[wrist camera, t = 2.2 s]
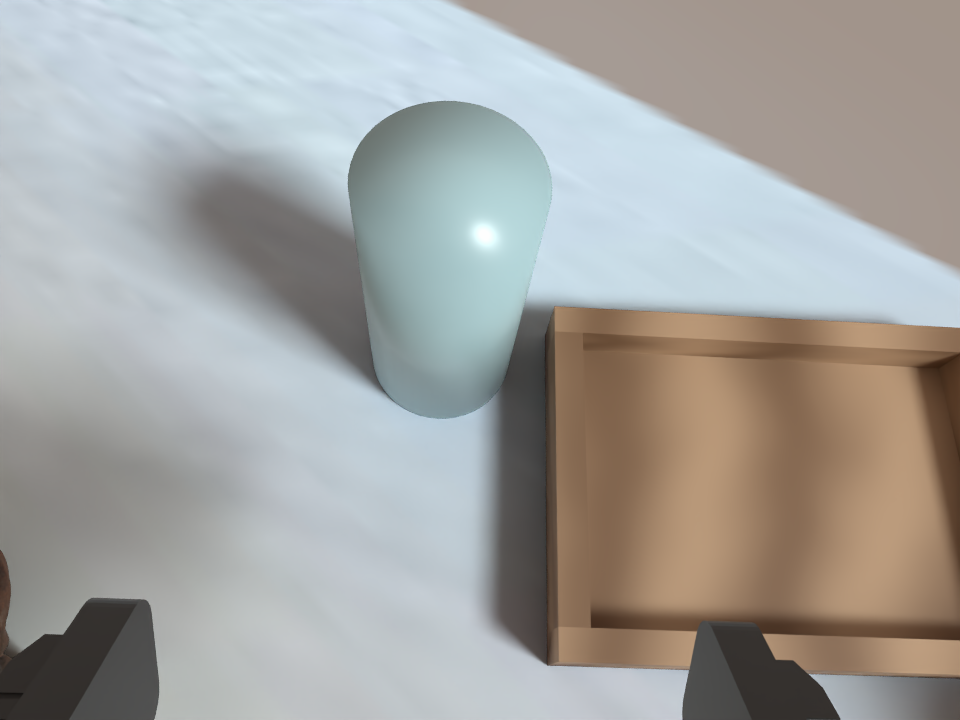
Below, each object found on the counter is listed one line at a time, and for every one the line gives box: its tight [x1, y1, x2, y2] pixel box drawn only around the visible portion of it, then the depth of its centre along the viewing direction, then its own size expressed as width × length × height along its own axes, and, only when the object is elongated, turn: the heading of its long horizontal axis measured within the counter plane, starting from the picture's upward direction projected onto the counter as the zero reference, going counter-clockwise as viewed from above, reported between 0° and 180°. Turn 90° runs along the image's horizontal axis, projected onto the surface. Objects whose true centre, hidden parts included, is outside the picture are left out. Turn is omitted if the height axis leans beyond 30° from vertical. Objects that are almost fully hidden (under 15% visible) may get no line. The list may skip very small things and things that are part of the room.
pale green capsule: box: [348, 101, 552, 419], centre depth 25 cm, size 5×5×11 cm
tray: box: [545, 306, 960, 679], centre depth 28 cm, size 16×12×2 cm
